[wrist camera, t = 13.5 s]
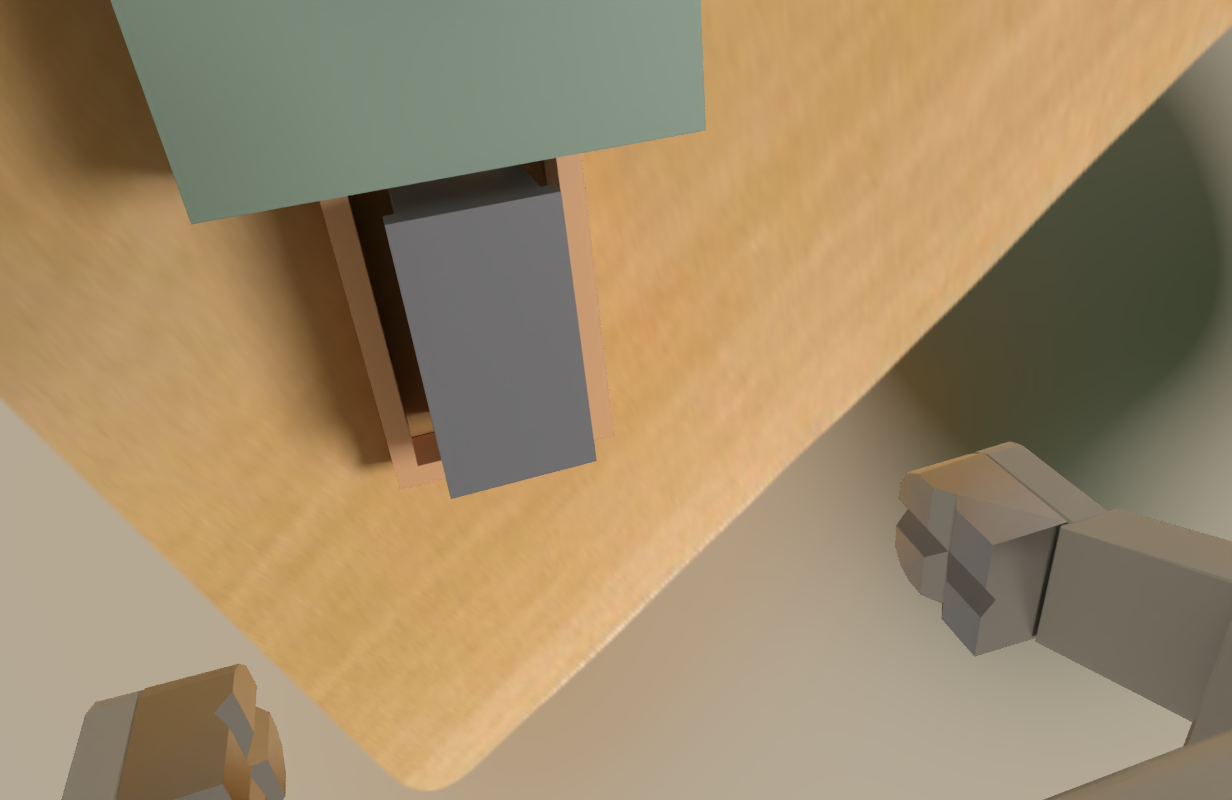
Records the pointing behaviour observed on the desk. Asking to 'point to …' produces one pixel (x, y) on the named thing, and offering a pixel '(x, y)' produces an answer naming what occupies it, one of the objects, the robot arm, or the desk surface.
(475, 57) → the green panel with knob
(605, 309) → the desk surface
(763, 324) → the desk surface
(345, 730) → the desk surface
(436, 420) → the grey stepped block
